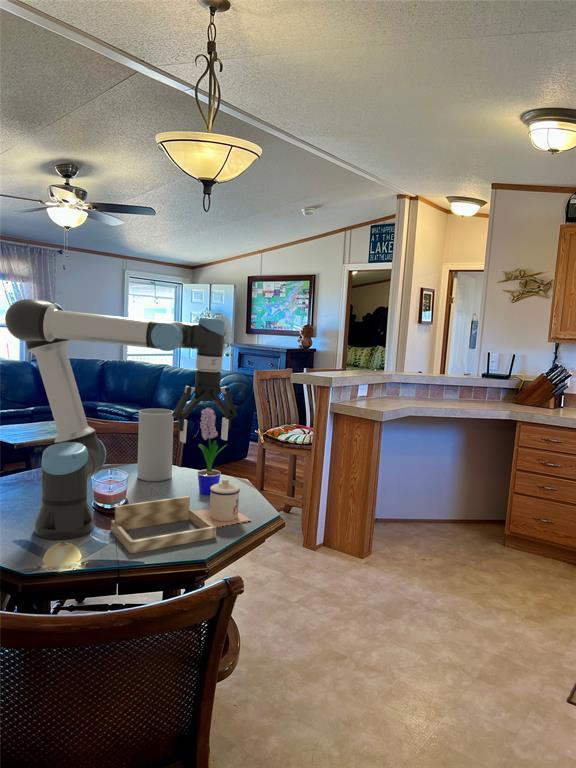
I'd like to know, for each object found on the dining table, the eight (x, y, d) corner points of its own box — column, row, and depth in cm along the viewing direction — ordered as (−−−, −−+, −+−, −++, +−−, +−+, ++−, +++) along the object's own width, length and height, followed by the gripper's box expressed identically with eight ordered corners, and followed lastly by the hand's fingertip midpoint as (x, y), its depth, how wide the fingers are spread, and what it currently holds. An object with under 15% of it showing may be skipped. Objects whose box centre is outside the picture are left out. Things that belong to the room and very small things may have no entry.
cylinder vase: (143, 483, 200) (145, 415, 197) (132, 474, 211) (134, 409, 208) (176, 480, 207) (178, 413, 204) (164, 471, 217) (166, 408, 214)
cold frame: (130, 553, 142) (131, 527, 141) (111, 530, 156) (111, 506, 155) (215, 537, 155) (216, 513, 155) (190, 517, 169) (191, 495, 169)
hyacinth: (223, 497, 190) (227, 410, 186) (193, 495, 190) (196, 408, 187) (226, 489, 199) (230, 406, 195) (198, 488, 199) (201, 404, 195)
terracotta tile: (208, 529, 161) (208, 527, 161) (189, 513, 173) (189, 511, 173) (250, 521, 169) (250, 519, 169) (229, 507, 181) (229, 505, 180)
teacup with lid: (239, 522, 166) (241, 484, 165) (209, 522, 165) (210, 483, 164) (236, 508, 178) (238, 472, 177) (208, 508, 177) (209, 472, 175)
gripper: (173, 371, 155) (169, 445, 157) (251, 372, 169) (246, 441, 171) (163, 367, 161) (159, 439, 163) (239, 369, 175) (234, 435, 177)
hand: (203, 440), depth 167 cm, fingers open, 13 cm apart
